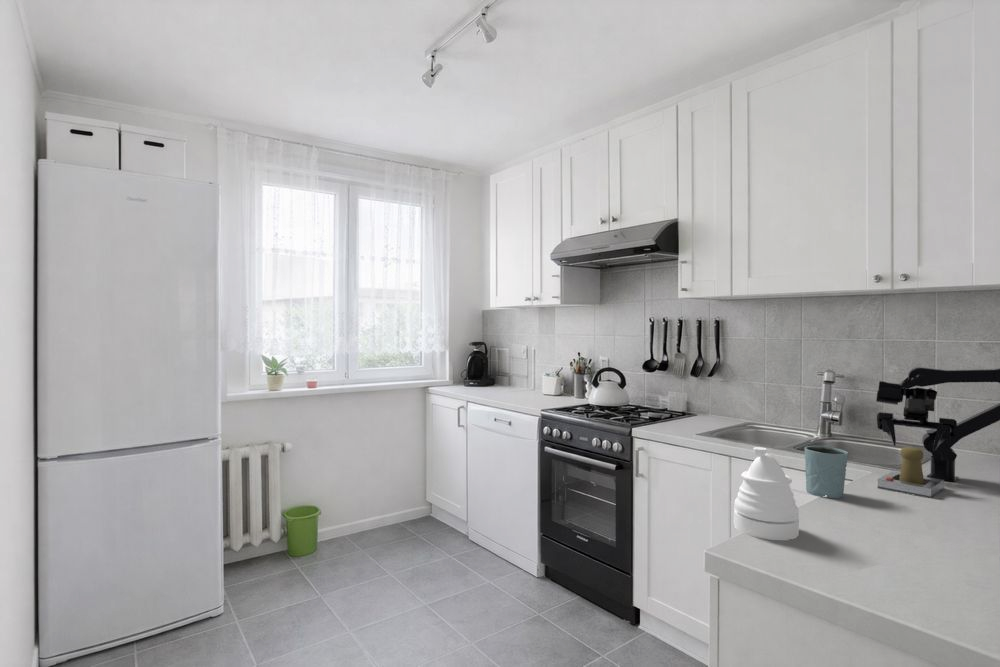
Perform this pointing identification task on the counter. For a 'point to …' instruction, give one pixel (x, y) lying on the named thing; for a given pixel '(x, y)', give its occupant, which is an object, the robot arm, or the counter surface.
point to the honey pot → (766, 501)
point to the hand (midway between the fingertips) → (914, 447)
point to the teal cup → (825, 471)
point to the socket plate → (911, 485)
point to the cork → (911, 465)
